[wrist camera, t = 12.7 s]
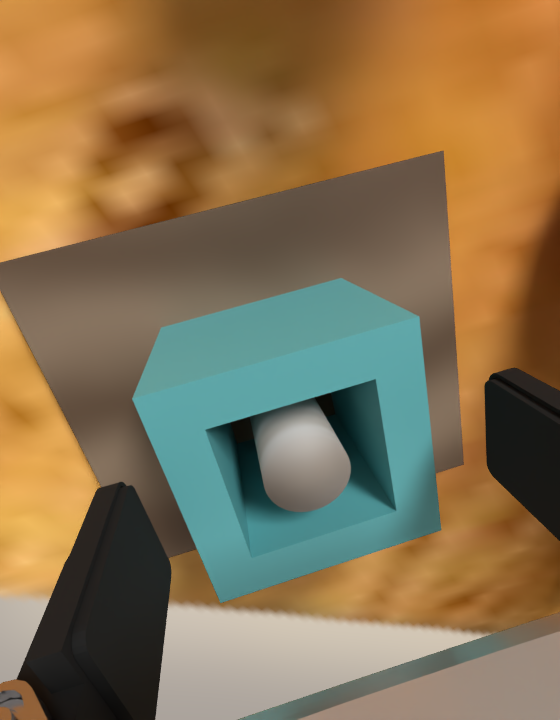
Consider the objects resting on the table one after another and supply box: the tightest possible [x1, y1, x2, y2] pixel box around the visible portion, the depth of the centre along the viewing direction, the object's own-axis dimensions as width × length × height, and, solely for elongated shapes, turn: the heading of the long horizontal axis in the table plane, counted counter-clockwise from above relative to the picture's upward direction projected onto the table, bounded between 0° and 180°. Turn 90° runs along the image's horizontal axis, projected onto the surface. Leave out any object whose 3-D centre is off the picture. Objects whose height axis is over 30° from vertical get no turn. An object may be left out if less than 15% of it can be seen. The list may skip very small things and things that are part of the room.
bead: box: [132, 278, 441, 603], centre depth 13 cm, size 7×7×6 cm
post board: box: [0, 151, 464, 558], centre depth 14 cm, size 14×16×7 cm
